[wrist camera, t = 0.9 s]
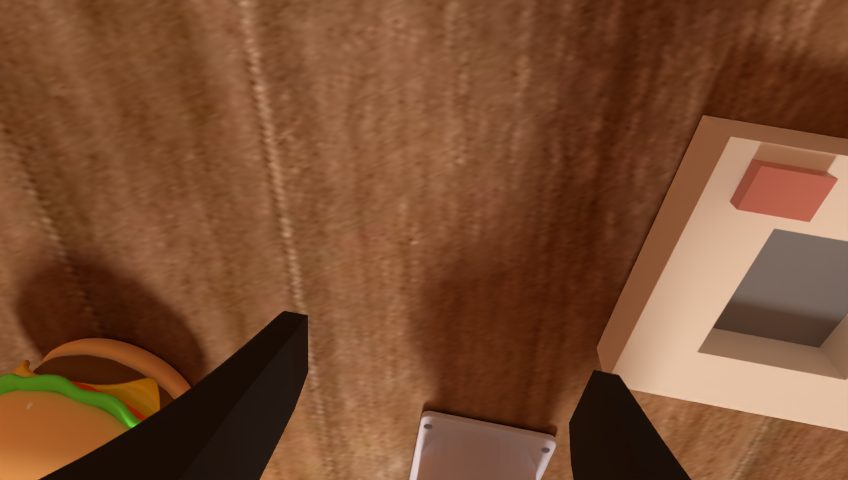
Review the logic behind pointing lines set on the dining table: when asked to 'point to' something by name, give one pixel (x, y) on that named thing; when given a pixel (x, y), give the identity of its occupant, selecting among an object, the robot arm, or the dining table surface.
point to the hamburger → (78, 403)
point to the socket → (744, 279)
